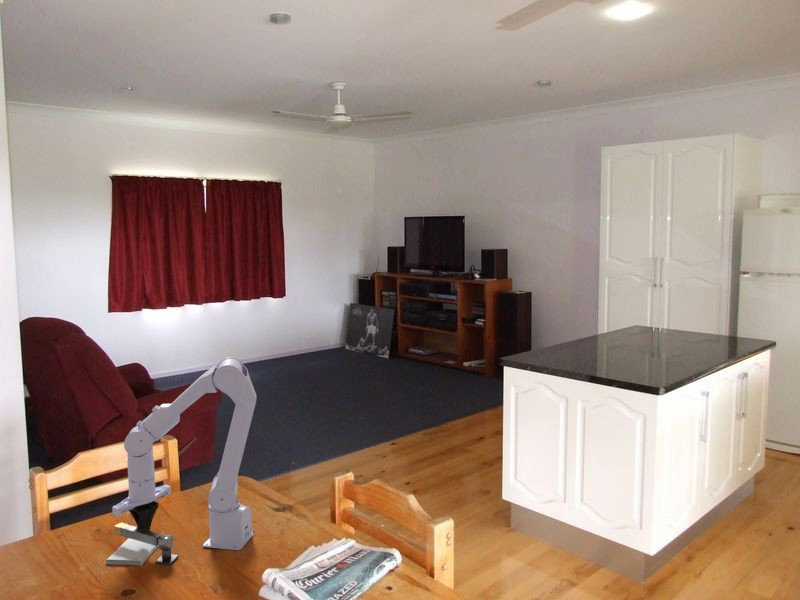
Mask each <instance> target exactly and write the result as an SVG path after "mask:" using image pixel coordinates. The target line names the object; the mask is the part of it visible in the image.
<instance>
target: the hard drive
mask: <svg viewBox="0 0 800 600" xmlns="http://www.w3.org/2000/svg"><path fill="white" fill-rule="evenodd" d="M158 548H159V545H158V546H155V545H151V544H148V543H144V542H141V541H137V540H134V539H130V538H127V539H126V540H125V541H124V542H123V543H122V544H121V545H120V546H119V547H118V548H117V549H116V550H115V551H114V552H113V553H112V554H111V555H109V557H108V558H107V559H106V560H105V565H121V566H122V565H124V566H125V565H127V566H142V565H143V564H144V563H145V562H146V561H147V559H148V558H149V557H151V555H152V554H153V552H155V551H156V550H157V549H158Z"/></svg>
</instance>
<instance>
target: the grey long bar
mask: <svg viewBox="0 0 800 600" xmlns="http://www.w3.org/2000/svg"><path fill="white" fill-rule="evenodd" d="M113 527H114V529H113V531H114V535H115V536H119V537H124V538H127V539H128V538H130V539H134V540H137V541H141V542H144V543H148V544H151V545H155V546H158V545H159V546H158V549H159V550H161V551H162V550H166V549H170V548H171V549H172V548H173V547H174V545H175V544H174V543H175V542H174V535H172V534H162V533H158V532H155V531H153V530H150V531H149V530H145V529H141V528H138V526H135V525H130V524H128V523H125V522H119V523H118V524H117V523H116V525H114V526H113Z"/></svg>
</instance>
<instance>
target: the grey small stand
mask: <svg viewBox="0 0 800 600" xmlns="http://www.w3.org/2000/svg"><path fill="white" fill-rule="evenodd" d="M177 559H179V554H172V548H170V549H166V550H161V556H159V557H158V559H156V560H155V561H154V564H155V565H158V566H159V565H160V566H171V565H173V564H174V562H175V561H176V560H177Z"/></svg>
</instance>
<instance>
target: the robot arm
mask: <svg viewBox="0 0 800 600" xmlns="http://www.w3.org/2000/svg"><path fill="white" fill-rule="evenodd" d="M218 390H220V391H221V392H222V393H224V394H226V396H229V398H230V399H231V401H232V402H233V403H234V404H235V406H234V411H233V414H232V418H231V421H230V427H229V430H228V434H227V438H226V441H225V442H226V443H225V446H224V450H223V454H222V457H221V462H220V463H221V464H220V465H219V470H218V472H217V473H216V475H215V476H214V477H213V479H212V480H211V481H212V482H211V489H210V492H209V495H208V498H207V500H208V520H209V521H208V523H209V538H208V539H207V540H206V541H205V542H204V543H203V544H202V547H203V548H211V549H213V548H214V549H221V550H232V551H233V550H234V551H241V550H242V549H243V547H244V546H245V545H246V544H247V543H248V542H249V540H250V539H251V538H252V537H253V536H254V532H253V524H252V509H251V507H249V506H246V505H243V504H241V501H240V499H239V498H238V497H237V493H238V489H239V479H238V475H239V471H240V467H241V463H242V459H243V456H244V451H245V448H246V443H247V439H248V436H249V431H250V428H251V424H252V420H253V415H254V411H255V408H256V404H257V392H256V391H255V388H254V385H253V382H252V380H251V376H250V374H249V370H248V368H247V367H246V366H245V365H244V363H242V362H241V360H239V359H238V358H236V357H233V356H229V357H225V358H223V359H222V360H220V362H219V363H218V364H216V365H214V366H212V367H211V368H209V369H208V370H206V371H205V372H204V373H203V374H202V375H201V376H199V377H198V378H197V379H196V380H195V381H194V382H193V383H191V384H190V386H188V387H187V388H186V389H185V390H184V391H183V392H182V393H181V394H179V396H178V397H177V398H176V399H174V401H172V403H162V404H160V405H159V406H158V405H155V406H154V407H152V410H151V413H150V414H149V415H148V416H147V417H145V418H144V419H143V420H139V421H138V422H136V426H135V427H133V428H132V429H131V430H130V431H129V433H128V434H127V435H126V437H125V438H124V441H123V447H124V451H125V452H126V453H127V454H126V455H127V461H126V462H127V480H128V497H126V498H124V499H123V500H122V501H121V502H119V503H117V504H116V505H112V510H111V511H112V516H116V517H117V518H119V517H121V516H122V515H123V514H125V513H127V512H129V513H130V514H131V516H132V518H133V519H134V521H135V523H136V527H138V528H141V529H145V530H149V531H151V527H152V522H153V519H154V517H155V514H156V511H157V510H158V508H159V502H157V501H156V500H157V499H159V498H162V497H163V496H169V495H172V488H171V485H167V484H164V485H160V486H157V487H156V477H155V458H154V447H153V445H154V443H155V442H157V441H159V440H160V439H162V438H163V437H164V436H165V435H166V434H167V433H168V432H169V431H171V430H172V429H173V428H174V427H175V426H177V425H178V423H180V422H181V421H180V419H181V414H182V413H183V412H184V411H186V409H188V408H189V407H190V406H192V405H193V404H195V402H197V400H198V401H199V399H200V398H201V397H202V396H204V395H205V394H212V393H213V394H214V393H217V392H218Z"/></svg>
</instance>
